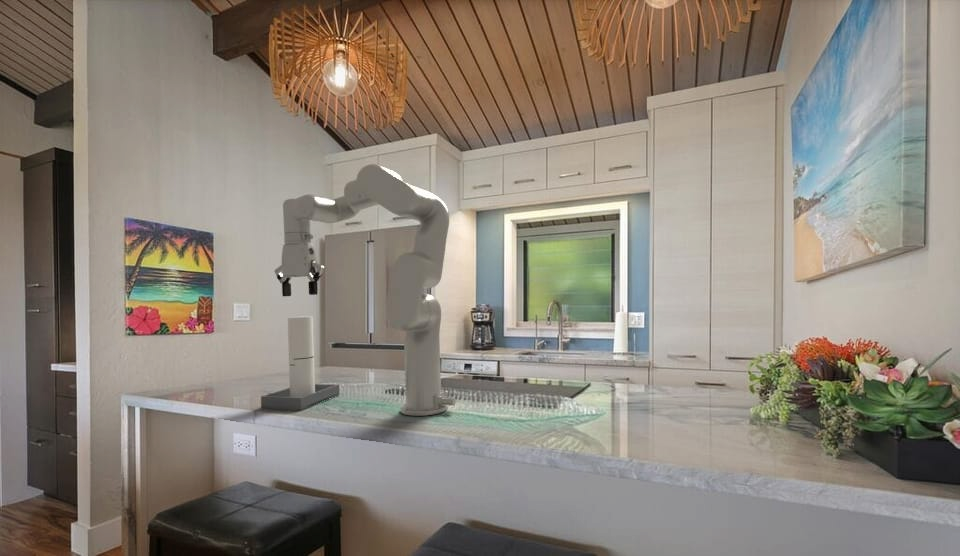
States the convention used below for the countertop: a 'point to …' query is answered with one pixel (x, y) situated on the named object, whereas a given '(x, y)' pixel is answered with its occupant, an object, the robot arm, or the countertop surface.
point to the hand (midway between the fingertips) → (300, 295)
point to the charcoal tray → (299, 398)
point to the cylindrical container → (301, 356)
